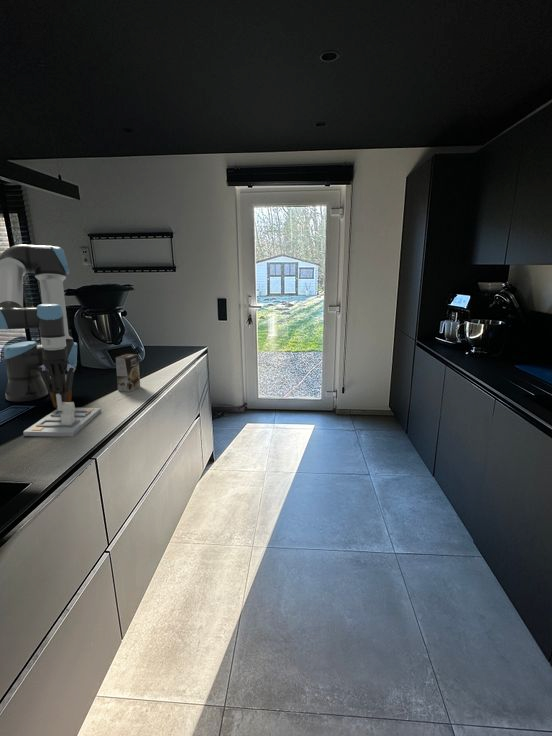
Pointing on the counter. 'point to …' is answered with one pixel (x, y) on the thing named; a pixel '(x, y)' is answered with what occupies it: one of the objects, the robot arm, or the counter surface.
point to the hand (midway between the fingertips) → (62, 409)
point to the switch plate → (54, 426)
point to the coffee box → (128, 372)
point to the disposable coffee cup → (59, 391)
